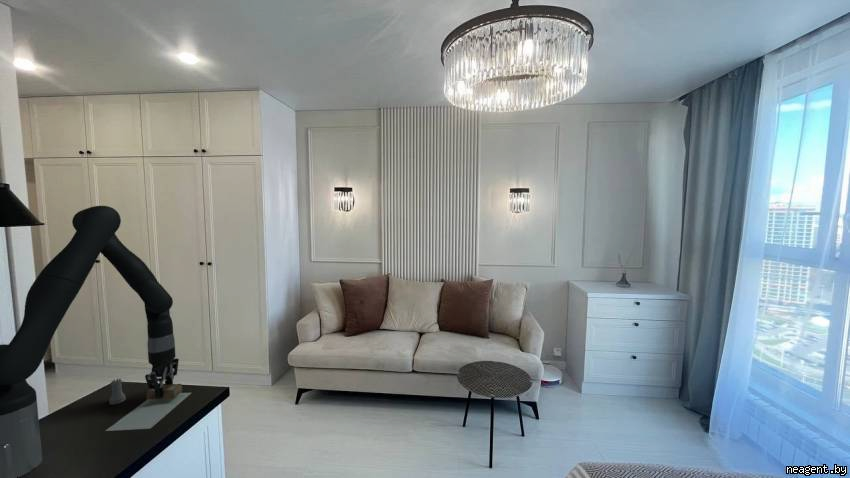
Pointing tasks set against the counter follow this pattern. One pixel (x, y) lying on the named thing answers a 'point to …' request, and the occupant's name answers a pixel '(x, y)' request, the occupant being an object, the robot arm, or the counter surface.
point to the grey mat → (148, 413)
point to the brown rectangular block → (166, 391)
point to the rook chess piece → (117, 392)
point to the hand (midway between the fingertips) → (164, 393)
